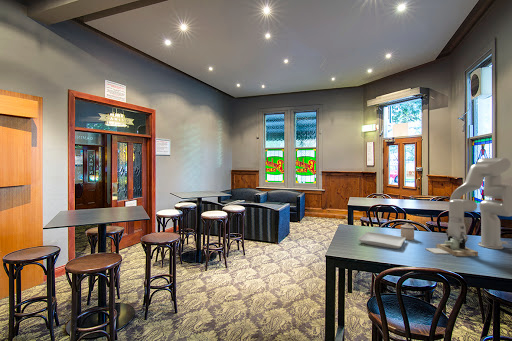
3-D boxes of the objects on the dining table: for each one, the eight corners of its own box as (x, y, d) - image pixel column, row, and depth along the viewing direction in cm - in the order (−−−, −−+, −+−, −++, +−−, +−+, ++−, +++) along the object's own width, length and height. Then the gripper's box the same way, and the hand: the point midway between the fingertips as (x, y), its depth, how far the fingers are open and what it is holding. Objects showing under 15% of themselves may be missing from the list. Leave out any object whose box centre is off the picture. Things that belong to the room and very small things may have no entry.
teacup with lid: (416, 240, 187) (416, 224, 186) (403, 240, 188) (403, 224, 188) (409, 236, 198) (409, 221, 198) (397, 235, 200) (397, 221, 200)
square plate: (400, 251, 163) (400, 245, 163) (356, 244, 179) (356, 238, 179) (406, 242, 184) (406, 236, 184) (366, 236, 201) (366, 231, 201)
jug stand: (457, 247, 170) (457, 244, 170) (478, 256, 154) (478, 251, 154) (436, 247, 170) (436, 243, 170) (454, 255, 154) (454, 251, 154)
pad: (439, 249, 167) (439, 248, 167) (449, 253, 158) (449, 252, 158) (425, 249, 167) (425, 248, 167) (434, 253, 158) (434, 252, 158)
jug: (457, 250, 165) (457, 237, 165) (464, 253, 159) (464, 240, 159) (442, 250, 165) (442, 237, 165) (448, 253, 159) (448, 240, 159)
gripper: (473, 222, 153) (473, 250, 153) (452, 217, 170) (452, 242, 170) (460, 222, 153) (460, 250, 153) (440, 217, 170) (440, 242, 171)
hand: (456, 246), depth 162 cm, fingers open, 9 cm apart
